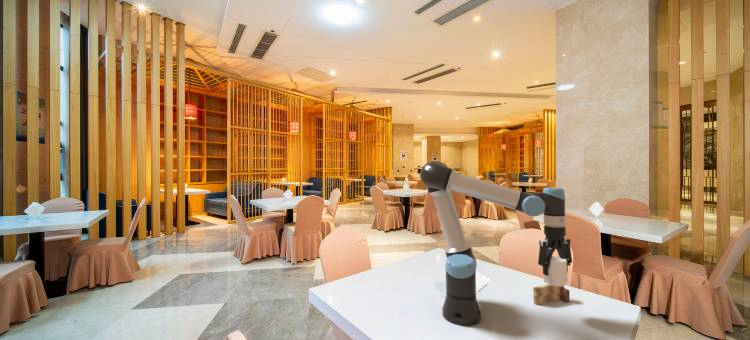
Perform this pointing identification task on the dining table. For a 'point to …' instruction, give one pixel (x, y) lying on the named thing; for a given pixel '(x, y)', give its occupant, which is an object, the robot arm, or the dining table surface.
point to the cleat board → (550, 294)
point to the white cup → (558, 271)
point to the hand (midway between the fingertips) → (555, 281)
